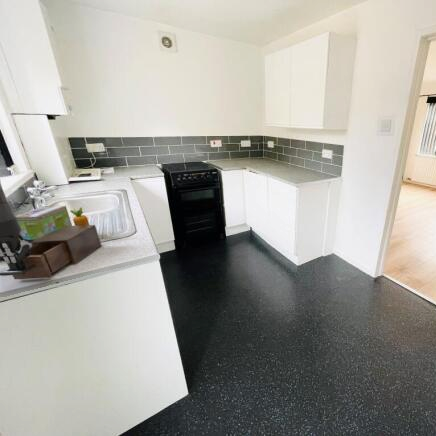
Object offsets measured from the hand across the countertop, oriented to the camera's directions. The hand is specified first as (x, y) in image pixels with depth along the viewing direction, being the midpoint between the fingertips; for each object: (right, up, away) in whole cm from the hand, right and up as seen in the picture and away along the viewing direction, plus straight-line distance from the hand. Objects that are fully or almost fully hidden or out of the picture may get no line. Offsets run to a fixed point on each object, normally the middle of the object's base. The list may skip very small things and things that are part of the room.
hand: (20, 271), depth 75 cm
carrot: (-7, +7, +33) cm, 35 cm away
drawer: (-1, -2, +8) cm, 8 cm away
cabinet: (-2, +2, +20) cm, 20 cm away
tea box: (-21, +6, +31) cm, 38 cm away
